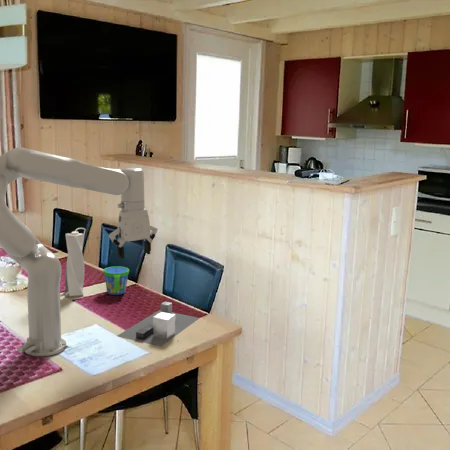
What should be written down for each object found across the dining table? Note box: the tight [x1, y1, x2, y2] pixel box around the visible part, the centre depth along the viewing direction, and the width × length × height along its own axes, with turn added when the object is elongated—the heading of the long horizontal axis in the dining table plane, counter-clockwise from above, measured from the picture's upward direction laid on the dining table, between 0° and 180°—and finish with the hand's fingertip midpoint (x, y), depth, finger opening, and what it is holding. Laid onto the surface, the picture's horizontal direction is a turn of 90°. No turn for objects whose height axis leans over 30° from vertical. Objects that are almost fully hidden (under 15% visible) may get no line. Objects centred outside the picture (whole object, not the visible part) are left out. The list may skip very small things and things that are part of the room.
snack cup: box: [103, 265, 130, 296], centre depth 216 cm, size 16×10×10 cm
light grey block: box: [153, 312, 175, 340], centre depth 173 cm, size 5×5×7 cm
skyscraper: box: [64, 227, 87, 298], centre depth 210 cm, size 8×8×28 cm
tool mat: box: [117, 309, 200, 347], centre depth 181 cm, size 28×17×1 cm, turn 157°
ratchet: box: [136, 301, 176, 340], centre depth 179 cm, size 21×7×7 cm, turn 157°
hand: (134, 255), depth 174 cm, fingers open, 9 cm apart
